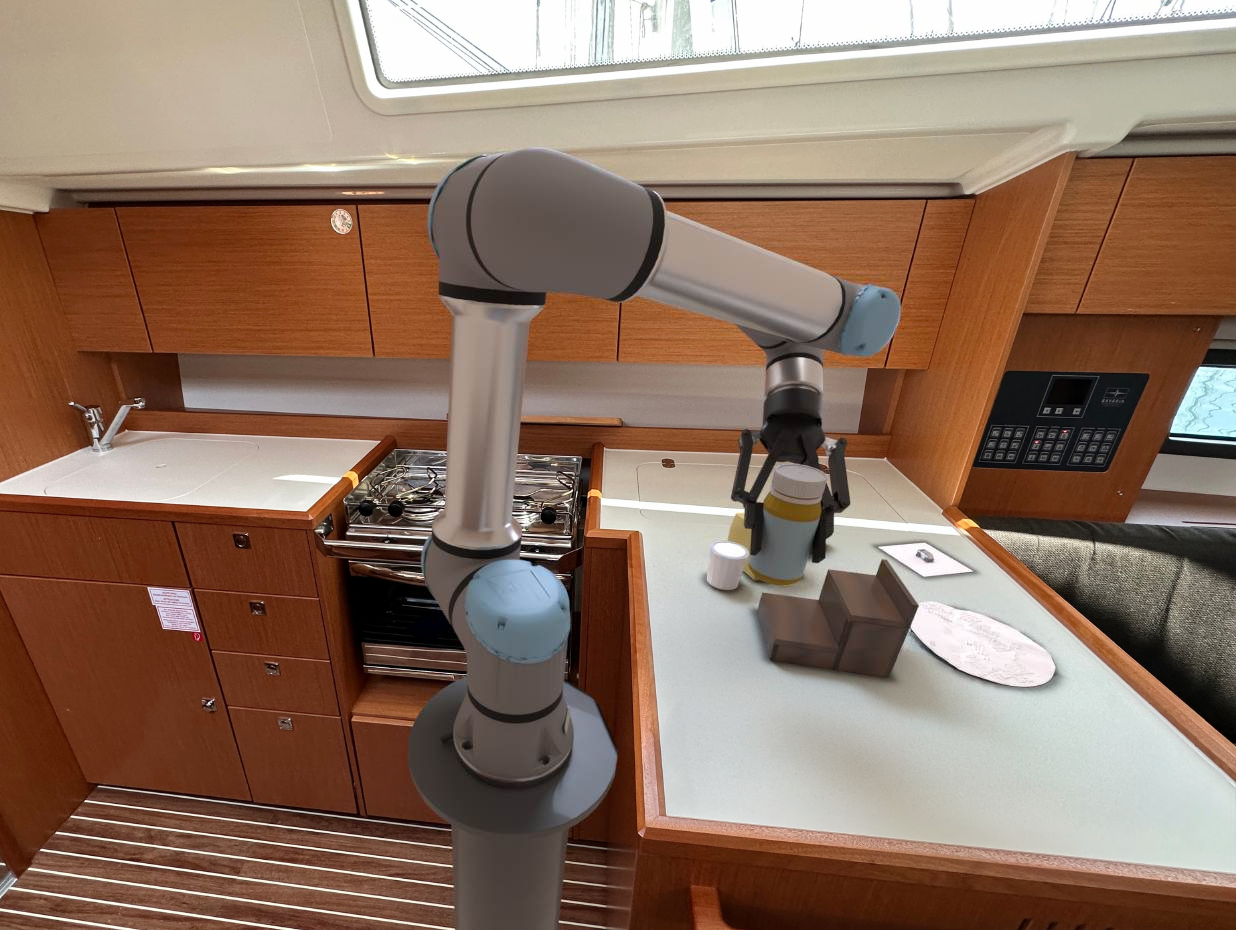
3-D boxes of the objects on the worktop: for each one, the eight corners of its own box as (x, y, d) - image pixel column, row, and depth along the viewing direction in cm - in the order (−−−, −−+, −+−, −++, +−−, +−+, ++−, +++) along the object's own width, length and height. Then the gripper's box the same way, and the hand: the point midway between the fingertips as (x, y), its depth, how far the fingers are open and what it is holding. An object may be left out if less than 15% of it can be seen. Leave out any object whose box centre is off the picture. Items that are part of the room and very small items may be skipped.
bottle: (751, 556, 84) (775, 458, 78) (803, 569, 82) (832, 469, 75) (743, 578, 79) (767, 475, 72) (798, 593, 76) (829, 487, 69)
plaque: (878, 611, 101) (881, 604, 101) (972, 603, 106) (975, 596, 105) (978, 694, 84) (982, 686, 84) (1086, 680, 88) (1091, 672, 88)
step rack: (769, 659, 89) (790, 588, 83) (757, 611, 101) (774, 545, 95) (889, 677, 87) (919, 605, 81) (862, 626, 98) (887, 559, 92)
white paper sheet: (923, 576, 113) (926, 570, 113) (877, 546, 124) (880, 540, 123) (973, 571, 116) (976, 564, 115) (924, 542, 126) (927, 536, 126)
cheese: (801, 577, 112) (814, 530, 107) (751, 582, 109) (763, 535, 104) (768, 550, 120) (779, 506, 116) (722, 555, 118) (731, 510, 113)
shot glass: (697, 582, 109) (703, 549, 105) (712, 568, 113) (719, 536, 110) (732, 596, 105) (740, 562, 102) (747, 581, 109) (755, 548, 106)
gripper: (858, 419, 84) (857, 573, 77) (714, 407, 87) (702, 554, 80) (881, 391, 77) (883, 559, 70) (724, 379, 80) (711, 538, 73)
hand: (786, 556), depth 75 cm, fingers closed on bottle, 7 cm apart
